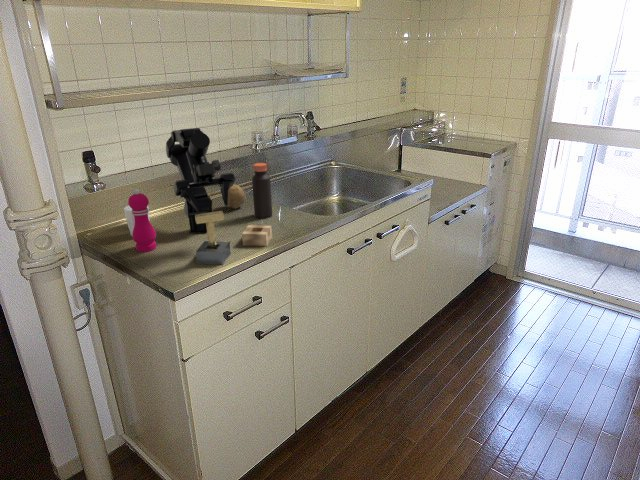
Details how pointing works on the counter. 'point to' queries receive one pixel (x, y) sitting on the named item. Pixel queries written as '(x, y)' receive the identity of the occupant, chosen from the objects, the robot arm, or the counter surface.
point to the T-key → (210, 225)
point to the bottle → (261, 191)
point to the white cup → (131, 218)
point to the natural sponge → (235, 196)
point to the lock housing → (213, 253)
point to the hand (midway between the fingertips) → (212, 208)
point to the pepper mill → (142, 223)
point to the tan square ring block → (257, 235)
